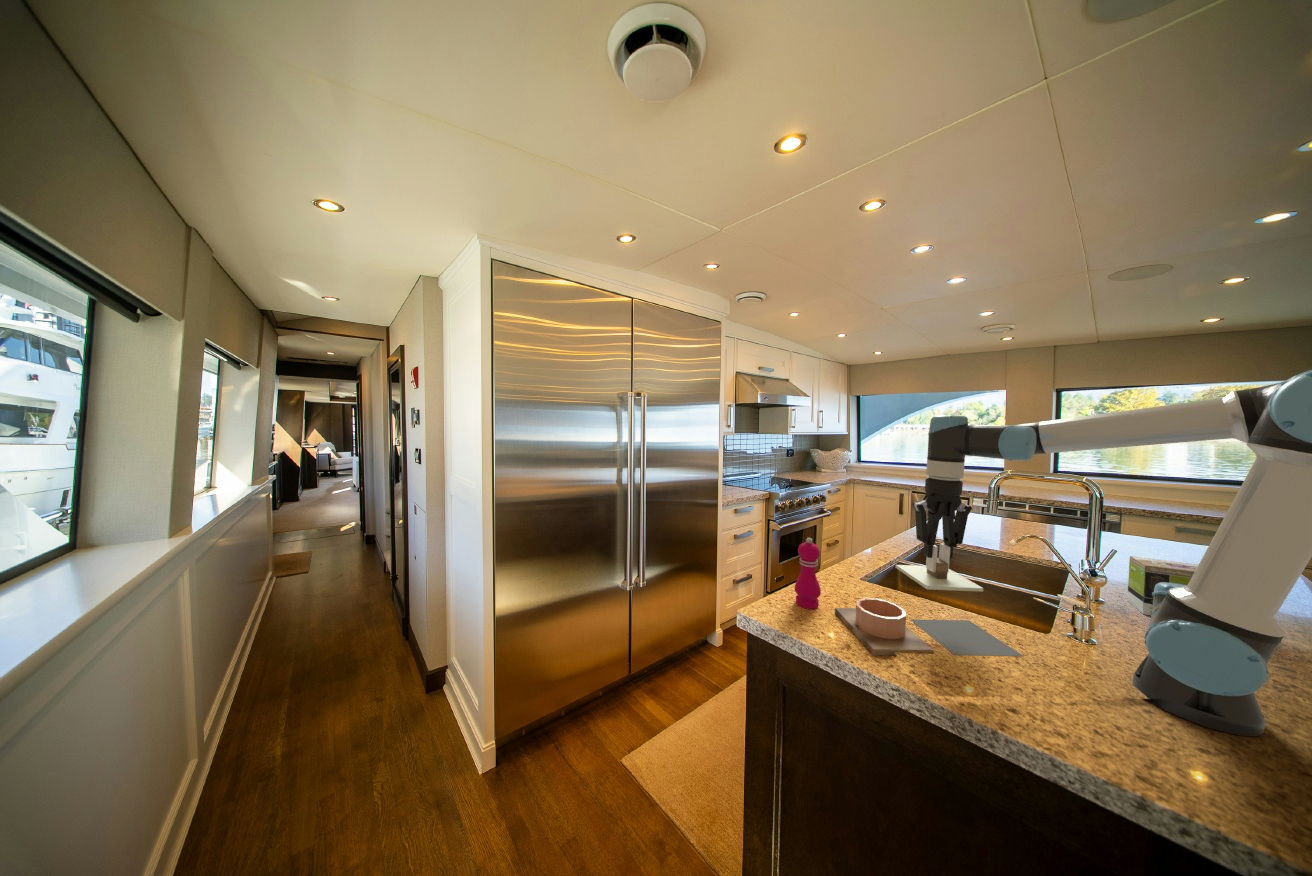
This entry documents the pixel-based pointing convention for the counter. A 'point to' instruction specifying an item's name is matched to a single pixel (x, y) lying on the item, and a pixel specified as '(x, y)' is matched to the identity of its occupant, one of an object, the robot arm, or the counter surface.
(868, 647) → the board
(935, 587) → the lid
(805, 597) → the pepper mill
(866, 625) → the bowl
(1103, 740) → the counter surface
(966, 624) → the mat
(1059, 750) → the counter surface
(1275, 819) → the counter surface
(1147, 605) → the tea box
